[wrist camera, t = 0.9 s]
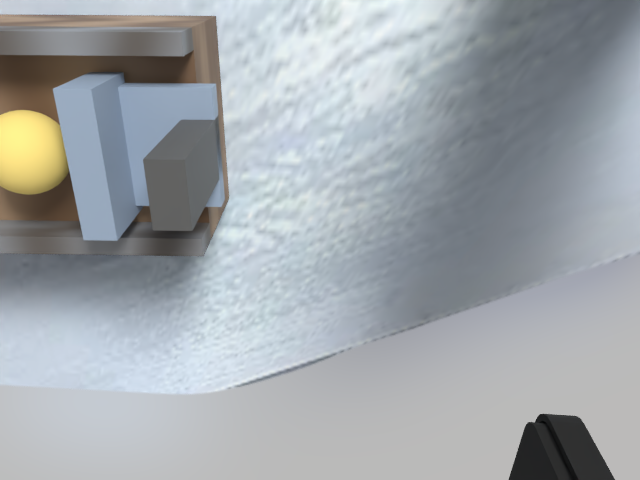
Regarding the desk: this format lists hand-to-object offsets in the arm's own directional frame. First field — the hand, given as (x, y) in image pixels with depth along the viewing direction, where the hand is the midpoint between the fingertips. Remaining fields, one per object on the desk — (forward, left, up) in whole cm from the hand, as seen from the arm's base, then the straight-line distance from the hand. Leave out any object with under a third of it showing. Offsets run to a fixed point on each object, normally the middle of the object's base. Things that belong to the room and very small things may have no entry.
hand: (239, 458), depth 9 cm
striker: (+7, +1, -21) cm, 22 cm away
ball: (+13, +1, -19) cm, 23 cm away
